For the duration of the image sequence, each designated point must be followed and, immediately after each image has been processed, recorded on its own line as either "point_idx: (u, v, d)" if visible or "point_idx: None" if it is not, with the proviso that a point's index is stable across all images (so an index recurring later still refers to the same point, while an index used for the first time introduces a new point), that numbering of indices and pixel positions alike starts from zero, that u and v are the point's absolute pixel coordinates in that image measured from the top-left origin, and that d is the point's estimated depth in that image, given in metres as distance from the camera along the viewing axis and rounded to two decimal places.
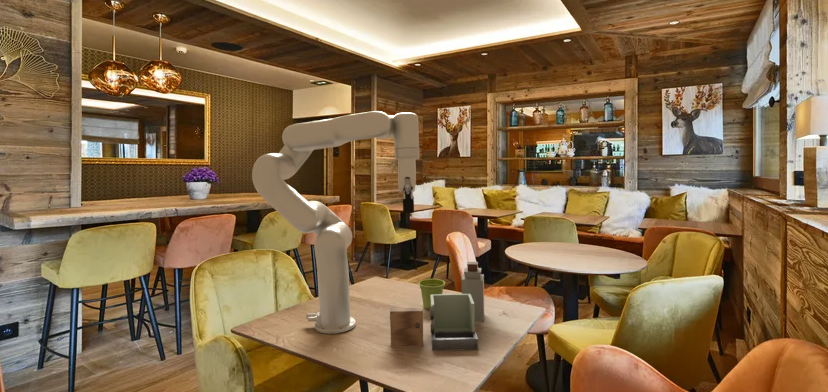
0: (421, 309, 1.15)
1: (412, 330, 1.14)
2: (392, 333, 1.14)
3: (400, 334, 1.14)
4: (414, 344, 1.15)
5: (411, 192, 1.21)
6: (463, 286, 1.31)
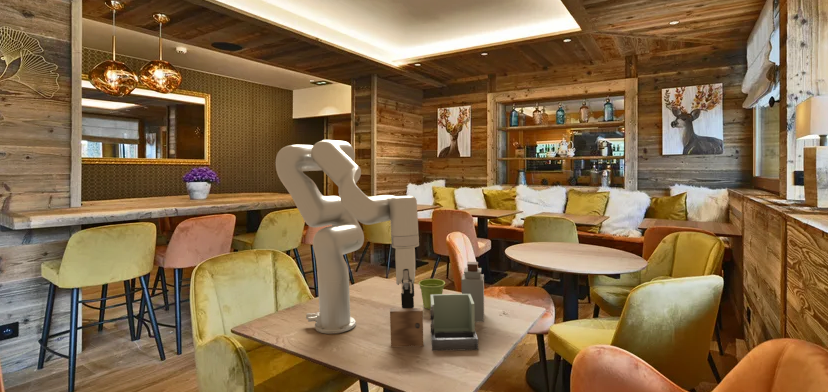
0: (421, 309, 1.15)
1: (412, 330, 1.14)
2: (392, 333, 1.14)
3: (400, 334, 1.14)
4: (414, 344, 1.15)
5: (410, 285, 1.09)
6: (463, 286, 1.31)
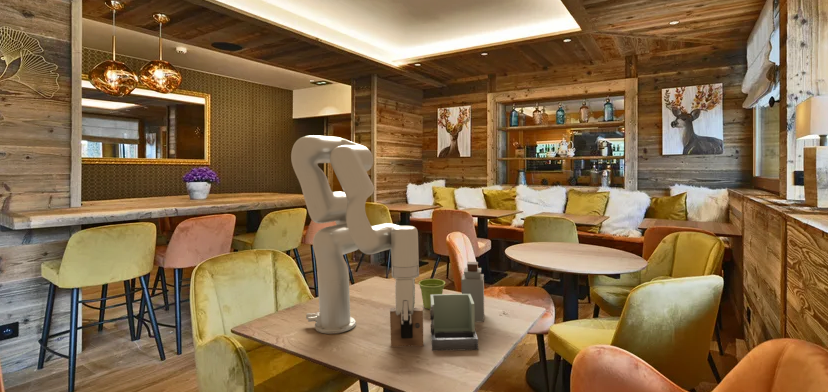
0: (421, 309, 1.15)
1: None
2: (392, 333, 1.14)
3: (400, 333, 1.14)
4: (414, 344, 1.15)
5: (410, 318, 1.12)
6: (463, 286, 1.31)
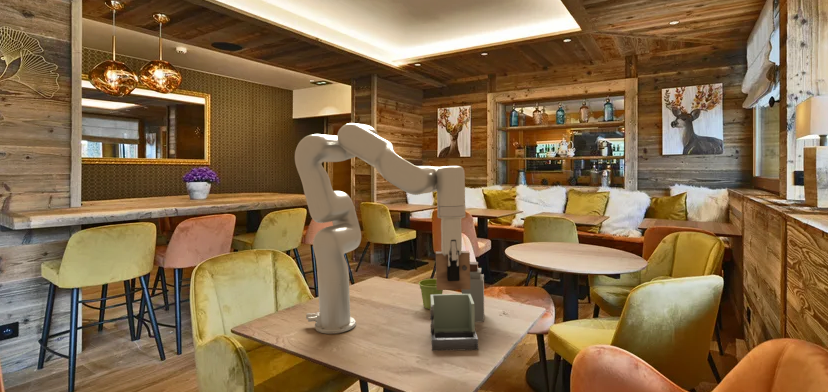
0: (468, 251, 1.12)
1: None
2: (438, 276, 1.11)
3: None
4: (461, 287, 1.12)
5: (457, 260, 1.09)
6: None
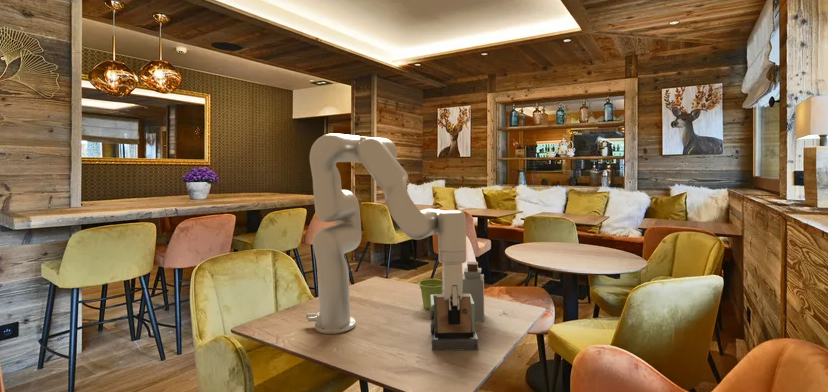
0: (468, 295, 1.13)
1: None
2: (439, 319, 1.12)
3: (447, 320, 1.12)
4: (461, 330, 1.13)
5: (458, 304, 1.10)
6: (463, 286, 1.31)
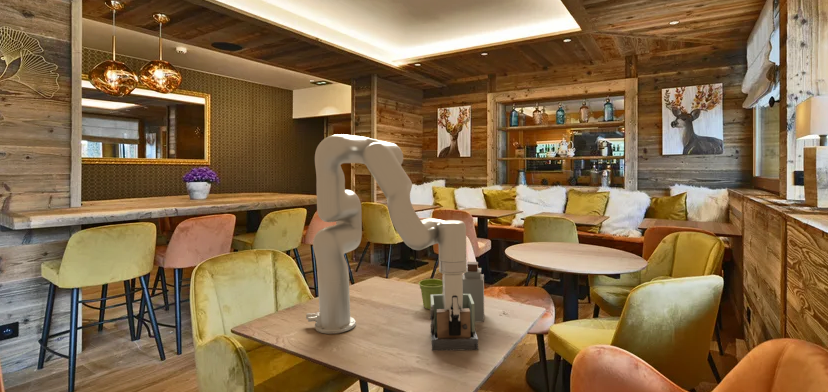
0: (468, 310, 1.14)
1: None
2: (439, 334, 1.13)
3: (447, 335, 1.13)
4: None
5: (458, 314, 1.10)
6: (463, 286, 1.31)
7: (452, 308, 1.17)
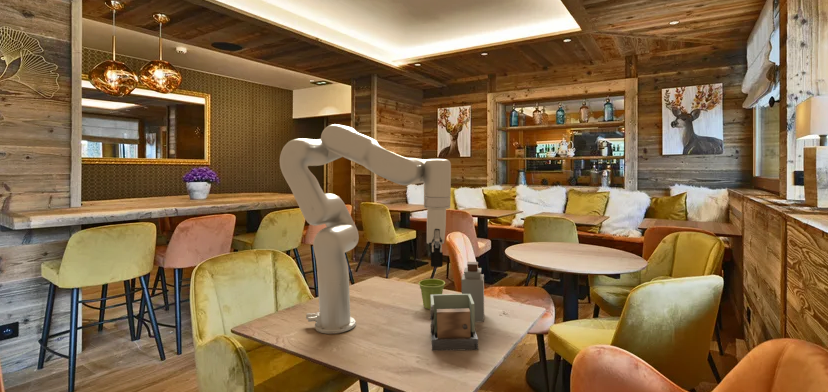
0: (468, 310, 1.13)
1: (459, 330, 1.13)
2: (439, 334, 1.13)
3: (447, 335, 1.13)
4: None
5: (440, 245, 1.13)
6: (463, 286, 1.31)
7: None
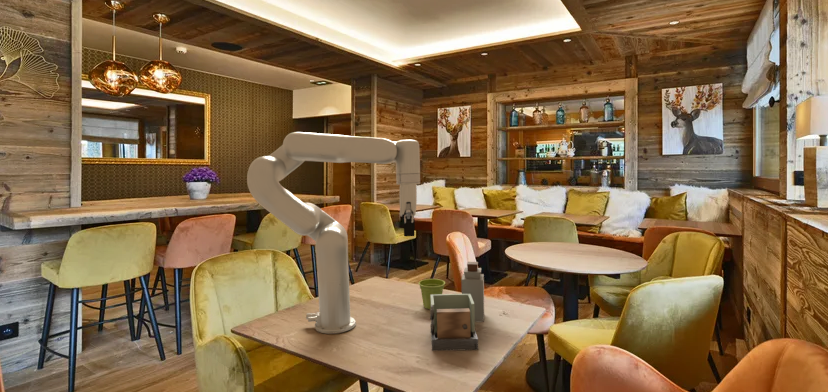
0: (468, 310, 1.14)
1: (459, 330, 1.13)
2: (439, 334, 1.13)
3: (447, 335, 1.13)
4: None
5: (412, 216, 1.26)
6: (463, 286, 1.31)
7: None
